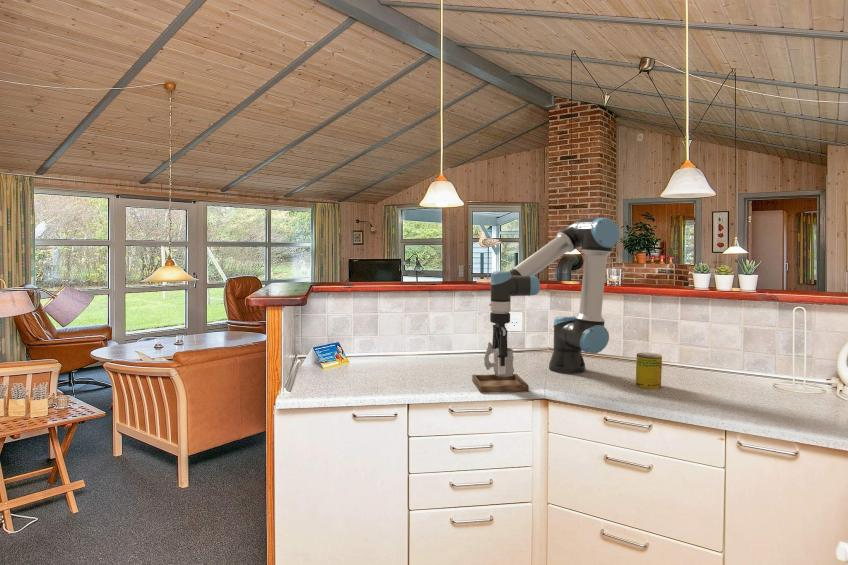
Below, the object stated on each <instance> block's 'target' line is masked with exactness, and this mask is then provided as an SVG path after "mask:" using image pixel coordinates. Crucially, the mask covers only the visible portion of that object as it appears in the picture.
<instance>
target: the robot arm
mask: <svg viewBox="0 0 848 565" xmlns="http://www.w3.org/2000/svg"><path fill="white" fill-rule="evenodd" d="M619 240H620V229H619V226H618V225H617V223H616V222H615V221H614V220H613V219H611V218H608V217H587V218H586V217H585V218H580V219H577V220H575V221H574V222H572V223H570V224H568V225H567V226H566V227H564V228H563V229H561V230H560V231H559V232H558V233H557V234H556V237H554V238H553V239H552V240H550V241H549V242H548V243H546V244H545V245H543V246H542V247H541V248H540V249H538V250H537V251H535V252H534V253H532V254H531V255H530V256H529V257H527V258H526V259H524V260H523V261H521V262H520V263H518V264H517V265H516V266H514V267H513V268H512V269H510V270H509V271H506V270H505V271H504V270H503V271H502V270H500V271H499V270H497V271H493V272H492V273H491V276H490V302H489V304H488V306H489V307H490V311H491V312H490V316H489V321H490V322H491V324H492V341H491V342H492V343H491V344H492V346H493V349H497V348H499V356H497V357H498V374H506V357H507V356H508V353H507V348H508V332H509V331H508V329H507V328H506V324H509V323H511V313H510V312H511V297H525V296H526V297H527V296H528V297H531V296H537V295H538V294H539V292H540V290H541V282H540V279H539V278H538V277H537V276H536V275H537V274H538V273H540V272H542V271H543V270H544V269H546V268H547V267H548V266H549V265H551V264H552V263H554V262H555V261H556V260H558V259H559V258H561V257H562V256H564V255H565V254H566V253H572V252H573V251H574V250H577V249H578V248H581V252H582V253H583V254H584V263H583V270H582V271H583V272H582V280H581V282H582V283H581V289H580V290H581V292H580V303H579V309H578V310H579V313H578V314H577V315H576V316H573V315H571V316H558V317H557V316H556V317H555V319H554V321H553V352H552V355H551V357H550V360H549V362H548V369H549V370H550V371H552V372H555V373H561V374H581V373H584V372H586V362H585V360H584V357H583V354H582V352H584V353H588V354H589V353H590V354H598V353H600V352H602V351H603V350H604V349H606V347H607V346H608V343H609V340H610V335H609V333H610V332H609V331H608V329H607V328H606V327H605V319H604V318H603V316H602V312H603V311H602V310H603V304H604V303H603V302H604V290H605V282H606V281H605V280H606V271H607V270H606V269H607V261H608V256H610V255H611V254H612V253H613V252H612V251H613V250H612V249H613V247H614V246H616V245H617V243H618V242H619ZM495 355H496V352H492V356H493V358H492V359H493V360H492V361H493V362H492V363H494V362H495ZM494 368H495V367H492V369H493V370H494Z"/></svg>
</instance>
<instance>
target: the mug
mask: <svg viewBox="0 0 848 565" xmlns="http://www.w3.org/2000/svg"><path fill="white" fill-rule="evenodd" d="M513 350H514V349H513V348H510V347H507V353H508V356H507V357H506V374H498V357H497V356H499V348H497V349H493V346H492V343H491V342H488V343H487V348H486V351H485V354H484V356H483V358H484V360H483V361H484V363H483V364H484V367H485V368H486V370H487V371H489V370H490V369H492V368H493V367H495V368H494V369H493V372H494V374H495V375H496V376H500V377H501V376H502V377H509V376H513V374H515V373H514V372H515V369H514V352H513ZM493 352H496V355H495V362H494V363H493V362H492V363H491V362H490V359H489V358H490V355H491V354H492V353H493Z"/></svg>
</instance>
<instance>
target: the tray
mask: <svg viewBox="0 0 848 565" xmlns="http://www.w3.org/2000/svg"><path fill="white" fill-rule="evenodd" d="M471 381H472V383H473V384H474V386H475V387H476V388H477V390H478V391H479V393H480V394H486V393H487V394H491V393H496V394H497V393H526V392H527V393H529V392H530V391H529V390H530V389H529V384H528V383H527V382H526V381H525V380H524V379H523V378H522V377H520V376H519V374H517V373H513V376H509V377H502V376H501V377H500V376H496V375H495V373H494V374H472V375H471Z"/></svg>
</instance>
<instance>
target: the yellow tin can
mask: <svg viewBox="0 0 848 565" xmlns="http://www.w3.org/2000/svg"><path fill="white" fill-rule="evenodd" d="M662 362H663V355H661V354H660V353H655V352H637V353H636V362H635V363H636V366H635V369H636V370H635V387H638V388H641V389H647V390H659V389H661V387H662V370H663V369H662V366H663V363H662Z"/></svg>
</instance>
